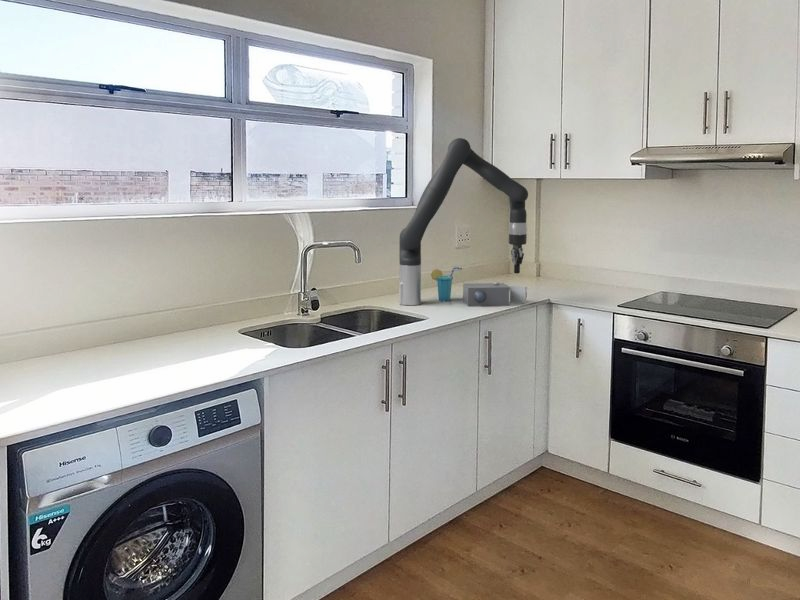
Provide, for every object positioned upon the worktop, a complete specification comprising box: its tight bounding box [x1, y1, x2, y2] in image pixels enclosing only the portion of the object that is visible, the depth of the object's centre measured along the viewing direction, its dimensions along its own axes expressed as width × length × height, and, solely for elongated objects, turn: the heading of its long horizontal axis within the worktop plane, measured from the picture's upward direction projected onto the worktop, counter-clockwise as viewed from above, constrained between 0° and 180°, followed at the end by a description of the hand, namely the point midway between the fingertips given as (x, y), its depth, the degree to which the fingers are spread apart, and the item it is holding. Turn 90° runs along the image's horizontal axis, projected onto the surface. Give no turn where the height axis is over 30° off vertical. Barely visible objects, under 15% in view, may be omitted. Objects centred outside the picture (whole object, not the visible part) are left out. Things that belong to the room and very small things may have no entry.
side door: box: [505, 283, 528, 304], centre depth 302 cm, size 2×12×7 cm, turn 45°
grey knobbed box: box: [462, 281, 511, 307], centre depth 298 cm, size 18×14×9 cm
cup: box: [430, 266, 463, 302], centre depth 306 cm, size 14×8×15 cm, turn 104°
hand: (516, 273), depth 296 cm, fingers closed
